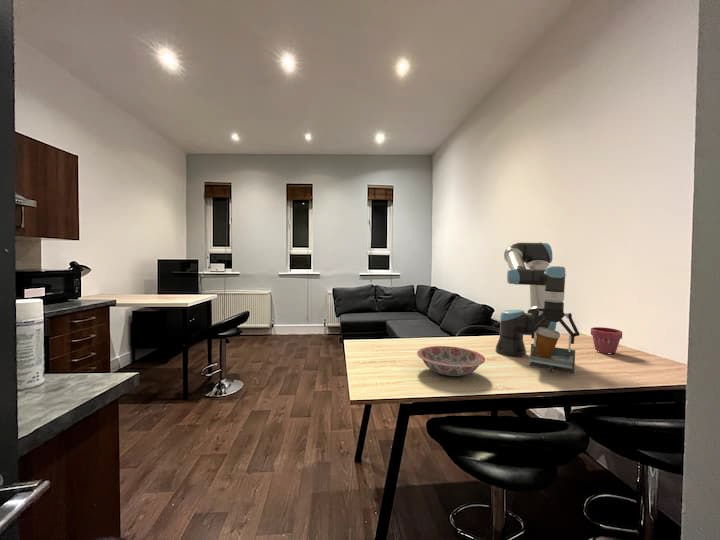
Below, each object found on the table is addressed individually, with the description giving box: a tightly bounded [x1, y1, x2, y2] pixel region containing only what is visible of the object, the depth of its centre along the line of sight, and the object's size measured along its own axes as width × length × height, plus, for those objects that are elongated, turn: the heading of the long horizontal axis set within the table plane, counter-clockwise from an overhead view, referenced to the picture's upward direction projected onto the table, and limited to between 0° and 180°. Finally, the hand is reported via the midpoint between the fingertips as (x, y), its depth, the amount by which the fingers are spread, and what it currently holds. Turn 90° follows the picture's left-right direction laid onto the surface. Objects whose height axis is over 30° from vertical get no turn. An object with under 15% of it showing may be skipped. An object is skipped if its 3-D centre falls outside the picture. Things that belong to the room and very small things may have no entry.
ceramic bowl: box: [416, 345, 486, 377], centre depth 148 cm, size 29×29×8 cm
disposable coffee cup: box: [535, 327, 561, 358], centre depth 149 cm, size 10×10×12 cm
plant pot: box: [590, 326, 623, 354], centre depth 185 cm, size 14×14×13 cm
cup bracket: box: [529, 343, 576, 374], centre depth 151 cm, size 18×20×10 cm
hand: (551, 348), depth 148 cm, fingers open, 13 cm apart
